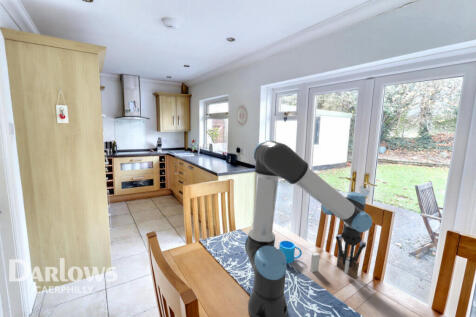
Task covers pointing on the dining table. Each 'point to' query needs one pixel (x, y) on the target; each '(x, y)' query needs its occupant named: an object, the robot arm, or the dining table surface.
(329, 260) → the dining table surface
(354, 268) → the dark brown rectangular slab
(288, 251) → the mug
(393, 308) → the dining table surface
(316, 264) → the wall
